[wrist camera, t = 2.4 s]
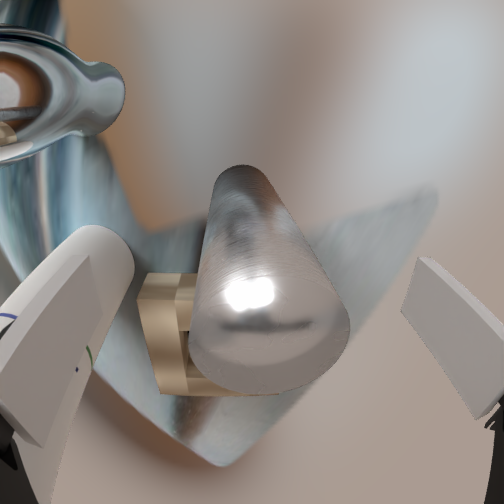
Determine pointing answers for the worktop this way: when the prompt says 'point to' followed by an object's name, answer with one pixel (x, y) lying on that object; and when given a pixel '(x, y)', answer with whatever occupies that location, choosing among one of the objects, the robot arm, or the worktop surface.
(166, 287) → the socket block
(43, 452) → the cylindrical container
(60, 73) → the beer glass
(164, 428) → the worktop surface
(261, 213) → the peg
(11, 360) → the robot arm
